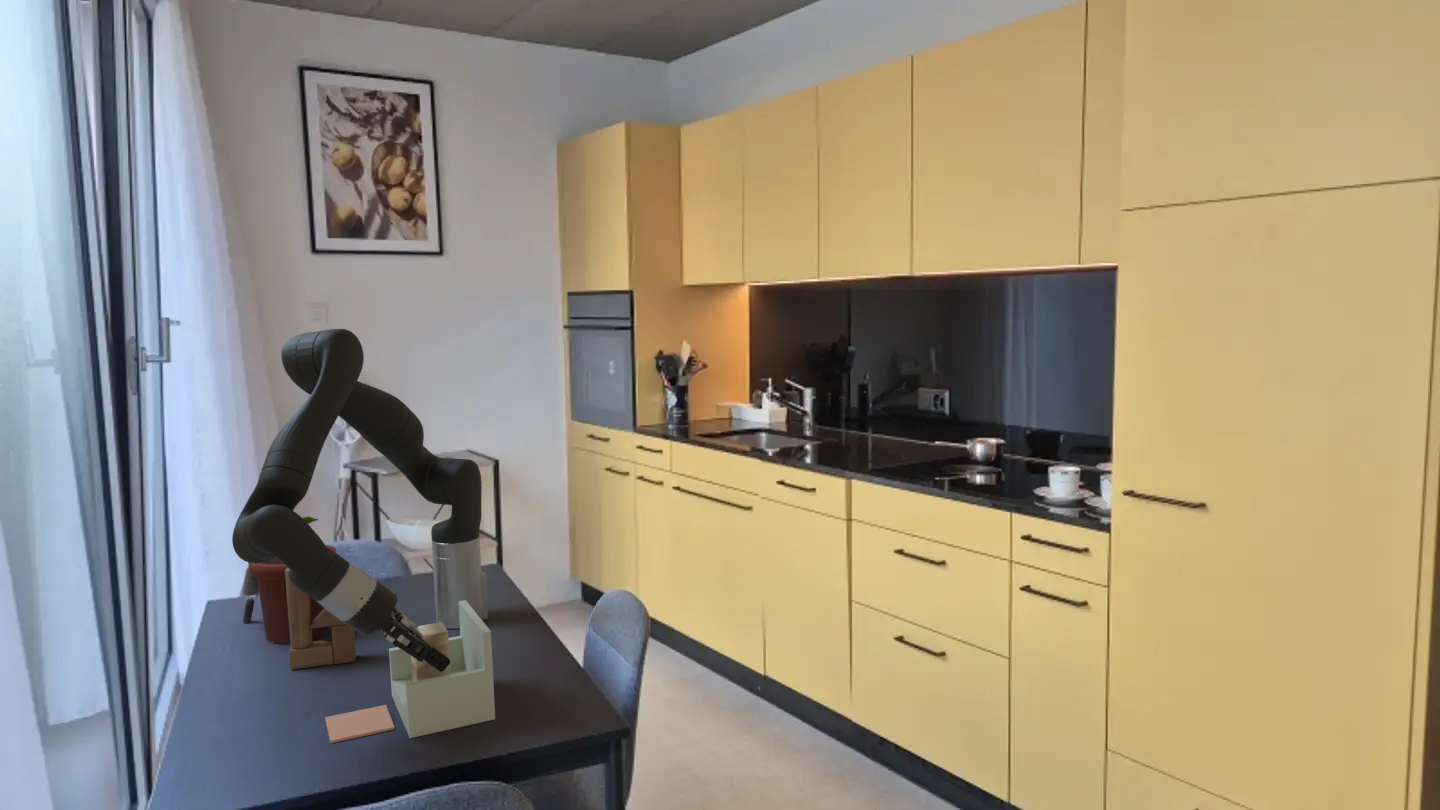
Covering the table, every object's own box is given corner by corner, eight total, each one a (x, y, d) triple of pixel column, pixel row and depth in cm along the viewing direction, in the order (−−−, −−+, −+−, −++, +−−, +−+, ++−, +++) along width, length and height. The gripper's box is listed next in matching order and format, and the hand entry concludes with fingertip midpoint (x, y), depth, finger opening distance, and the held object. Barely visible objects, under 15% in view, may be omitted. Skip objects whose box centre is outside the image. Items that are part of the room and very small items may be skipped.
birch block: (418, 699, 146) (414, 637, 144) (413, 688, 150) (409, 627, 149) (451, 693, 148) (448, 631, 147) (445, 681, 152) (441, 622, 151)
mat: (330, 743, 138) (330, 740, 138) (325, 719, 146) (325, 717, 146) (394, 729, 142) (394, 726, 142) (386, 707, 150) (385, 704, 150)
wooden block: (355, 662, 170) (348, 564, 168) (290, 671, 166) (282, 571, 164) (356, 655, 173) (349, 559, 171) (292, 663, 170) (285, 566, 168)
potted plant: (245, 656, 174) (234, 523, 171) (243, 622, 193) (233, 502, 190) (348, 638, 182) (339, 511, 179) (335, 607, 201) (327, 492, 198)
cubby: (409, 738, 139) (404, 646, 138) (391, 695, 155) (386, 613, 153) (495, 719, 145) (490, 631, 144) (469, 680, 160) (465, 600, 159)
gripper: (381, 591, 137) (469, 655, 144) (368, 567, 150) (449, 627, 157) (344, 633, 135) (435, 696, 142) (335, 605, 148) (418, 664, 155)
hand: (442, 660), depth 149 cm, fingers closed on birch block, 5 cm apart
